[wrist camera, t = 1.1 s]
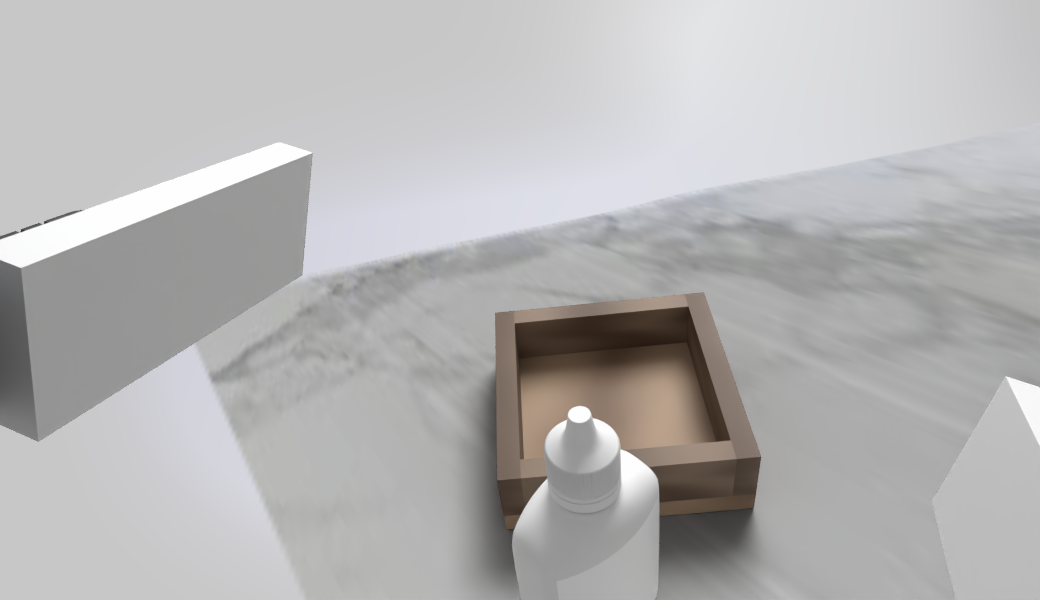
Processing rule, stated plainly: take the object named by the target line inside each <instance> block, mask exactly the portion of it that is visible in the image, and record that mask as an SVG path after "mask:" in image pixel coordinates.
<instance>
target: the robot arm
mask: <svg viewBox="0 0 1040 600" xmlns="http://www.w3.org/2000/svg"><path fill="white" fill-rule="evenodd" d="M312 154H313V153H311V152H308V151H305V150H302V149H299V148H296V147H293V146H289V145H287V144H284V143H280V142H278V143H275V144H273V145H270V146H267V147H264V148H261V149H258V150H255V151H252V152H249V153H247V154H244V155H241V156H238V157H235V158H233V159H229V160H227V161H224V162H221V163H218V164H215V165H212V166H209V167H207V168H204V169H201V170H198V171H195V172H192V173H190V174H186V175H184V176H181V177H178V178H175V179H172V180H170V181H166V182H164V183H161V184H158V185H155V186H152V187H149V188H146V189H144V190H141V191H138V192H135V193H132V194H129V195H126V196H124V197H121V198H118V199H115V200H112V201H109V202H106V203H103V204H101V205H98V206H95V207H92V208H89V209H86V210H80V211H73V212H70V213H67V214H64V215H61V216H58V217H56V218H52V219H49V220H47V221H44V224H40V223H38V224H35V225H32V226H29V227H26V228H24V229H21V232H20V233H19V232H16V231H15V232H12V233H9V234H6V235H3V236H0V425H2V426H4V427H6V428H9V429H11V430H13V431H16V432H18V433H20V434H22V435H25V436H27V437H29V438H31V439H33V440H36V441H40V440H42V439H43V438H45V437H46V436H48V435H50V434H51V433H53V432H55V431H56V430H58V429H59V428H61V427H62V426H64V425H66V424H67V423H69V422H70V421H72V420H74V419H75V418H77V417H78V416H80V415H81V414H83V413H85V412H86V411H88V410H89V409H91V408H93V407H94V406H96V405H97V404H99V403H101V402H102V401H104V400H105V399H107V398H108V397H110V396H112V395H113V394H115V393H116V392H118V391H120V390H121V389H123V388H124V387H126V386H127V385H129V384H130V383H132V382H134V381H135V380H137V379H138V378H140V377H142V376H143V375H145V374H146V373H148V372H149V371H151V370H153V369H154V368H156V367H158V366H159V365H161V364H162V363H164V362H165V361H167V360H168V359H170V358H171V357H173V356H175V355H177V354H178V353H180V352H181V351H183V350H184V349H186V348H188V347H189V346H191V345H192V344H194V343H196V342H197V341H199V340H200V339H202V338H203V337H205V336H207V335H208V334H210V333H211V332H213V331H215V330H216V329H218V328H219V327H221V326H222V325H224V324H226V323H227V322H229V321H230V320H232V319H234V318H235V317H237V316H238V315H240V314H241V313H243V312H245V311H246V310H248V309H249V308H251V307H253V306H254V305H256V304H257V303H259V302H260V301H262V300H264V299H265V298H267V297H268V296H270V295H272V294H273V293H275V292H276V291H278V290H279V289H281V288H283V287H284V286H286V285H287V284H289V283H291V282H292V281H294V280H295V279H297V278H298V277H300V276H302V271H303V259H304V248H305V236H306V224H307V212H308V200H309V189H310V177H311V165H312ZM932 504H933V508H934V512H935V516H936V521H937V525H938V529H939V533H940V537H941V541H942V546H943V550H944V554H945V558H946V562H947V567H948V571H949V575H950V579H951V583H952V587H953V592H954V596H955V600H1040V387H1037V386H1034V385H1031V384H1028V383H1025V382H1022V381H1019V380H1015V379H1012V378H1009V377H1006V376H1005V378H1004V380H1003V382H1002V383H1001V385H1000V387H999V388H998V390H997V392H996V393H995V395H994V397H993V399H992V400H991V402H990V404H989V405H988V407H987V409H986V410H985V412H984V414H983V415H982V417H981V419H980V421H979V422H978V424H977V426H976V427H975V429H974V431H973V432H972V434H971V436H970V437H969V439H968V441H967V443H966V444H965V446H964V448H963V449H962V451H961V453H960V454H959V456H958V458H957V460H956V461H955V463H954V465H953V466H952V468H951V470H950V471H949V473H948V475H947V476H946V478H945V480H944V482H943V483H942V485H941V487H940V488H939V490H938V492H937V493H936V495H935V497H934V498H933V500H932Z"/></svg>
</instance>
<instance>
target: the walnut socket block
mask: <svg viewBox="0 0 1040 600" xmlns="http://www.w3.org/2000/svg"><path fill="white" fill-rule="evenodd" d="M495 329H496V423H497V483H498V488H499V493H500V498H501V504H502V509H503V514H504V519H505V525H506V530H508V529H515V527H516V524H517V522H518V520H519V518H520V516H521V514H522V512H523V510H524V508H525V507H526V505H527V503H528V502H529V500H530V499H531V497H532V496H533V495H534V493H535V492H536V491H537V489H538V488H539V487H540V486H541V485H542V484H543V482H544V481H545V480H546V479H547V472H546V464H545V456H544V442H545V439H546V438H547V437H546V436H547V435H548V433H550V431H551V430H552V429H553V428H554V427H555V426H556V425H558V424H559V423H561V422H563V421H565V420H567V417H568V412H569V411H570V409H572V408H573V407H576V406H583V407H586V408H588V409H589V410H590V412H591V415H592V418H594V419H598V420H600V421H602V422H605V423H606V424H608V425H609V426H611V428H612V429H613V430H614V431H615V433H616V434H617V436H618V437H619V440H620V449H621V450H624V451H627V452H629V453H630V454H632V455H633V456H635V457H636V458H638V459H639V460H640V461H642V462H643V463H644V464H645V465H647V466H648V467H649V468H650V469H651V470H652V471H653V472H654V474H655V475H656V477H657V479H658V484H659V516H668V515H679V514H691V513H702V512H714V511H725V510H737V509H748V508H754V502H755V495H756V489H757V482H758V475H759V468H760V461H761V455H760V452H759V449H758V447H757V444H756V441H755V438H754V435H753V432H752V429H751V426H750V424H749V421H748V418H747V415H746V412H745V409H744V406H743V403H742V401H741V398H740V395H739V392H738V389H737V386H736V383H735V381H734V378H733V375H732V372H731V369H730V366H729V363H728V360H727V358H726V355H725V352H724V349H723V346H722V343H721V340H720V338H719V335H718V332H717V329H716V326H715V323H714V320H713V317H712V315H711V312H710V309H709V306H708V303H707V300H706V297H705V295H704V292H703V293H693V294H682V295H672V296H662V297H652V298H642V299H632V300H621V301H611V302H601V303H591V304H581V305H570V306H560V307H550V308H540V309H530V310H520V311H509V312H499V313H495Z"/></svg>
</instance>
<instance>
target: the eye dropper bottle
mask: <svg viewBox="0 0 1040 600" xmlns="http://www.w3.org/2000/svg"><path fill="white" fill-rule="evenodd" d="M546 437H547V438H546V439H545V442H544V456H545V464H546V472H547V479H546V480H545V481H544V482H543V484H542V485H541V486H540V487H539V488H538V489H537V491H536V492H535V493H534V495H533V496H532V497H531V499H530V500H529V502H528V503H527V505H526V507H525V508H524V510H523V512H522V514H521V516H520V518H519V520H518V522H517V524H516V527H515V529H514V532H513V538H512V550H513V557H514V564H515V570H516V575H517V581H518V587H519V592H520V598H521V600H655V599H656V596H657V592H658V576H659V484H658V479H657V477H656V475H655V474H654V472H653V471H652V470H651V469H650V468H649V467H648V466H647V465H645V464H644V463H643V462H642V461H640V460H639V459H638V458H636V457H635V456H633V455H632V454H630V453H629V452H627V451H624V450H621V449H620V440H619V437H618V436H617V434H616V433H615V431H614V430H613V429H612V428H611V426H609V425H608V424H606V423H605V422H602V421H600V420H598V419H594V418H592V415H591V412H590V410H589V409H588V408H586V407H583V406H576V407H573V408H572V409H570V411H569V412H568V417H567V420H565V421H563V422H561V423H559V424H558V425H556V426H555V427H554V428H553V429H552V430H551V431H550V433H548V435H547V436H546Z"/></svg>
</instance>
